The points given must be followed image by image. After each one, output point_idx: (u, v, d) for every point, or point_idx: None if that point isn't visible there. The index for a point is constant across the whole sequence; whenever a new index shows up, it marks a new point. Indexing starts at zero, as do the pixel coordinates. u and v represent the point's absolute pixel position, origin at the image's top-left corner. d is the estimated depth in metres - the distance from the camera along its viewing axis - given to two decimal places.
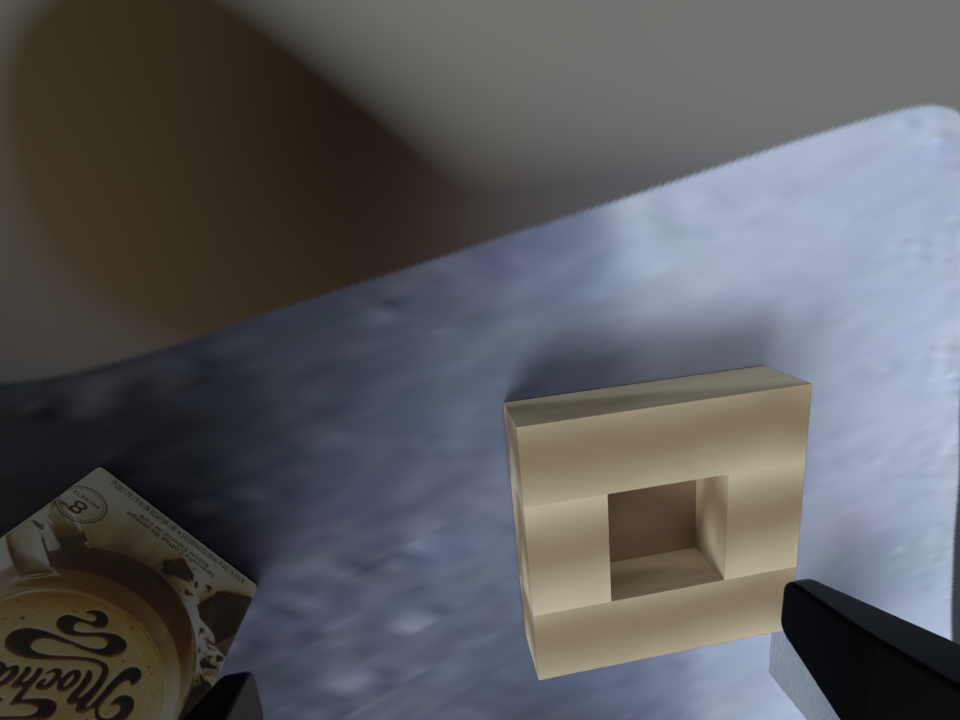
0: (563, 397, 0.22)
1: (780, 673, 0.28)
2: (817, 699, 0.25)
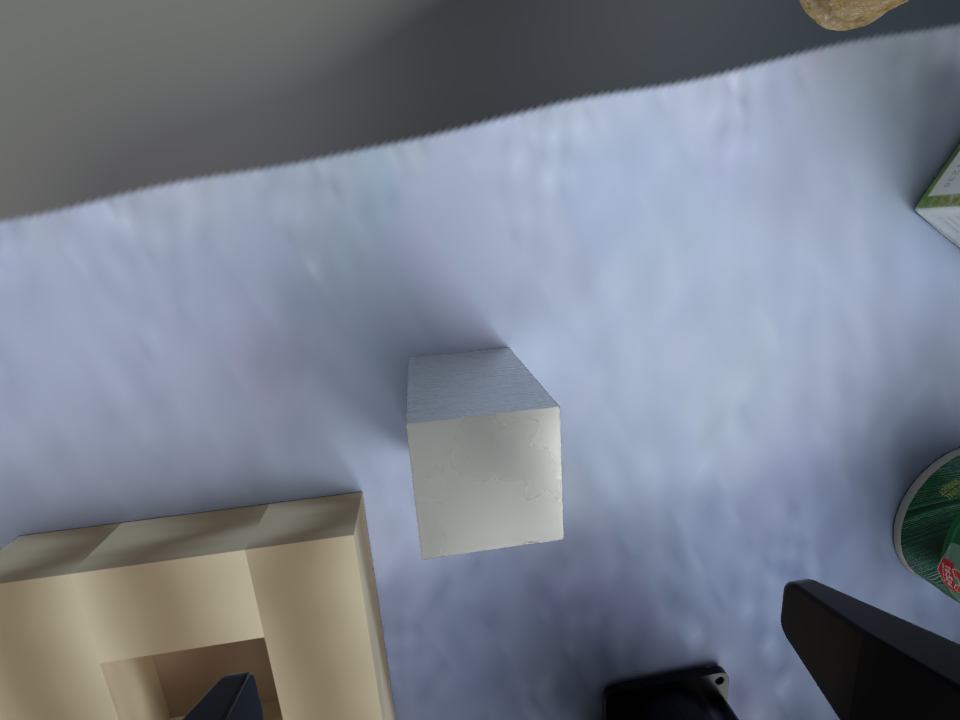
0: None
1: None
2: None
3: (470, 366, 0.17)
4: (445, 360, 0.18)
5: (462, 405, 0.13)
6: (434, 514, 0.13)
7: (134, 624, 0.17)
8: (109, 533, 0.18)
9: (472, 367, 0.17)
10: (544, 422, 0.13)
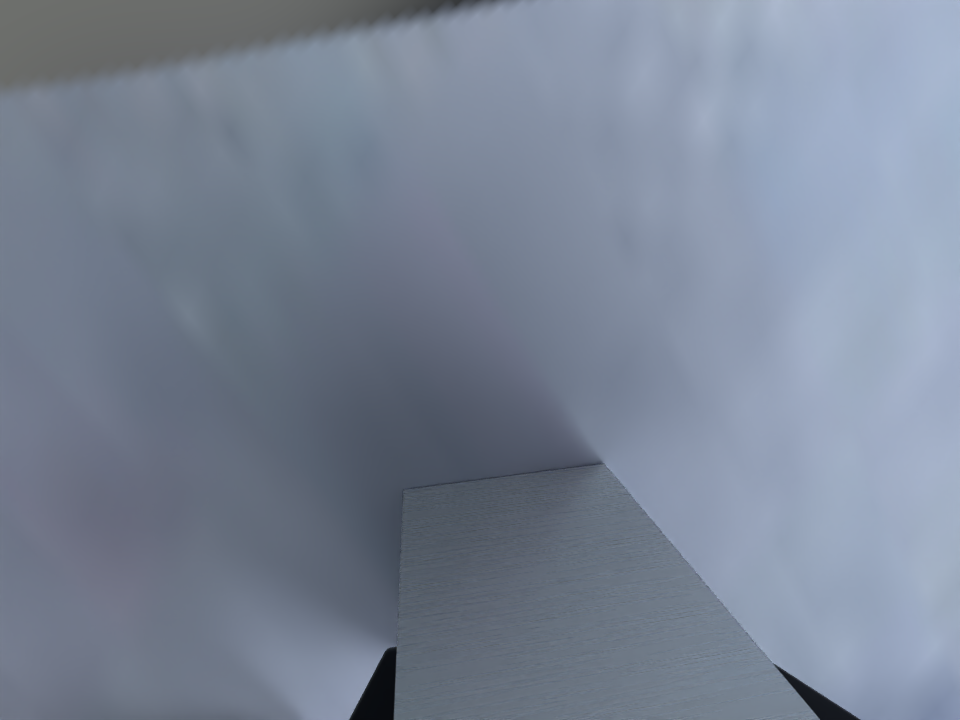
0: None
1: None
2: None
3: (544, 544, 0.07)
4: (482, 510, 0.08)
5: None
6: None
7: None
8: None
9: (551, 548, 0.07)
10: None
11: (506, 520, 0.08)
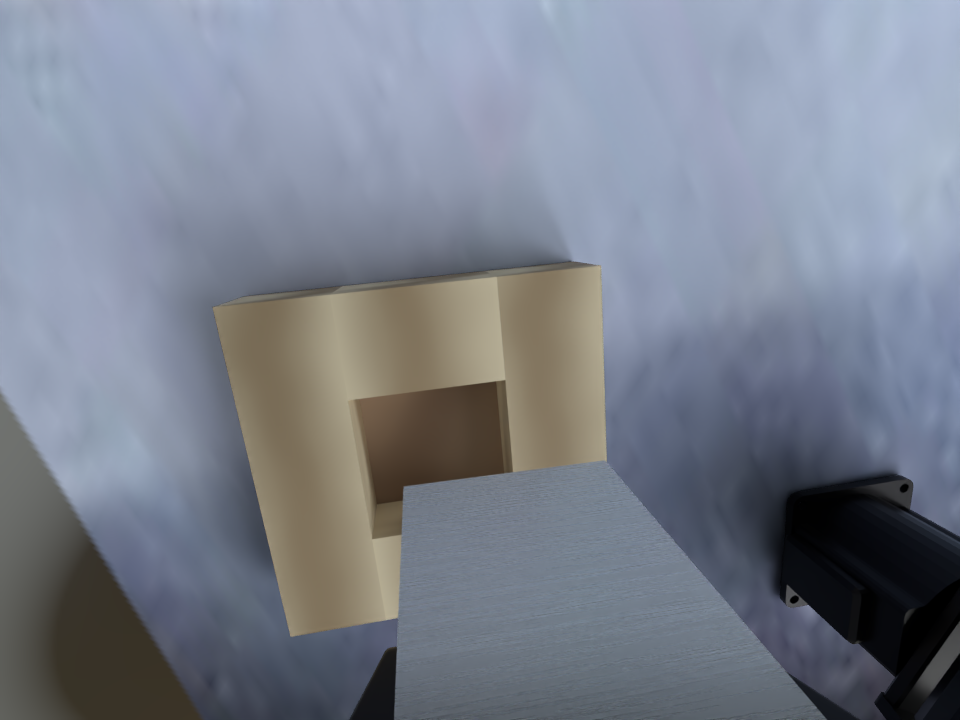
0: None
1: None
2: None
3: (544, 540, 0.07)
4: (482, 506, 0.08)
5: None
6: None
7: (384, 357, 0.17)
8: (338, 287, 0.18)
9: (552, 545, 0.07)
10: None
11: (506, 516, 0.08)
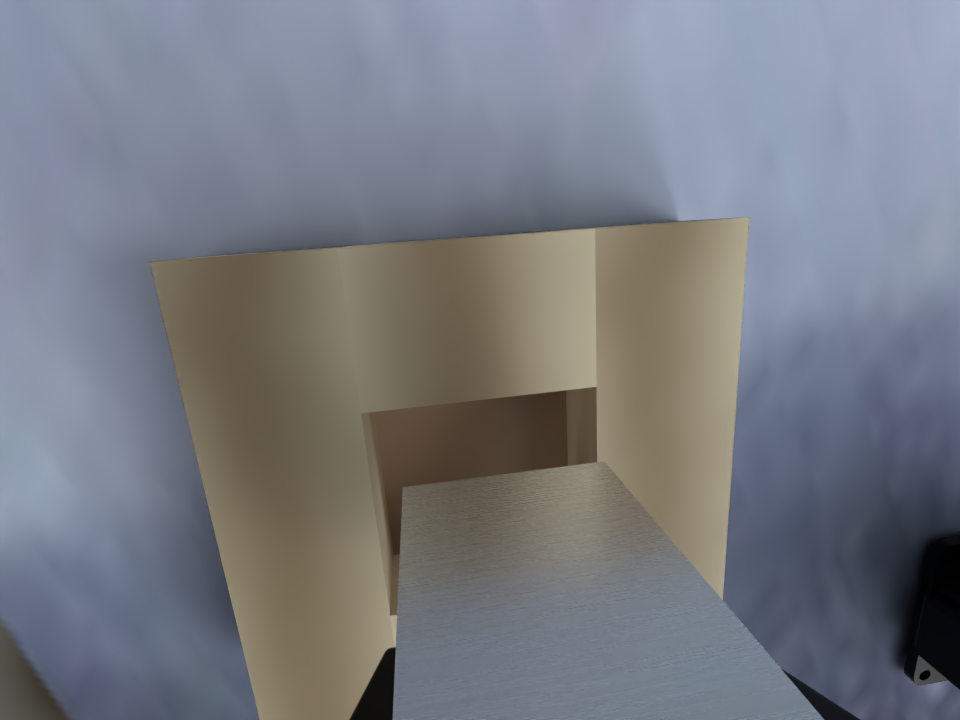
0: None
1: None
2: None
3: (543, 541, 0.07)
4: (481, 508, 0.08)
5: None
6: None
7: (419, 348, 0.11)
8: None
9: (551, 546, 0.07)
10: None
11: (506, 518, 0.08)
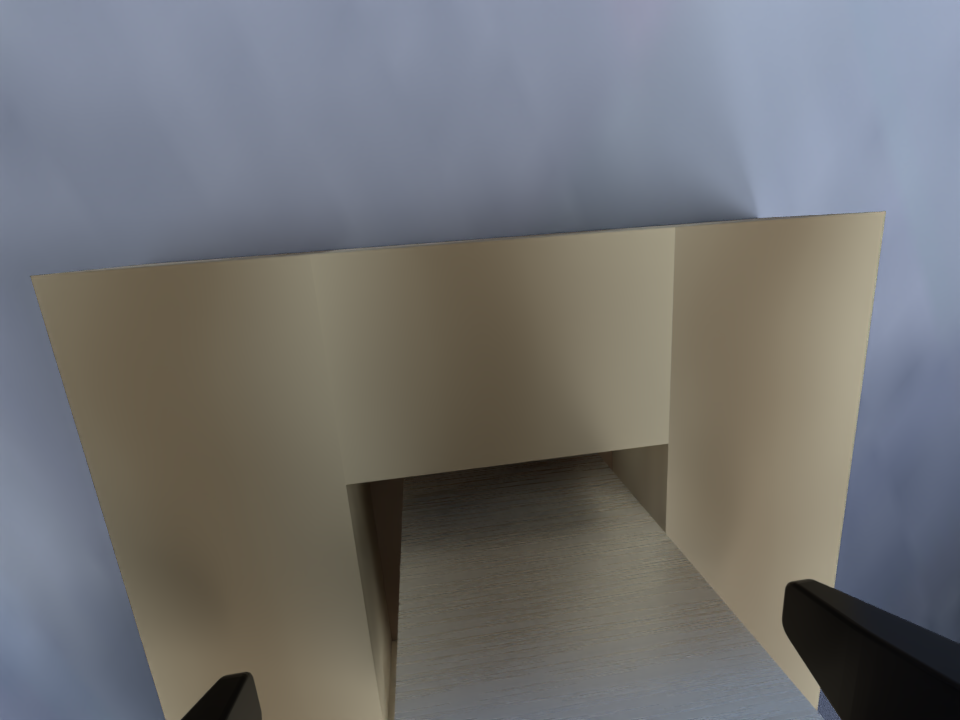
0: None
1: None
2: None
3: (523, 493, 0.09)
4: (472, 469, 0.10)
5: (545, 695, 0.05)
6: None
7: (427, 395, 0.08)
8: (331, 250, 0.09)
9: (529, 496, 0.09)
10: None
11: (492, 476, 0.09)
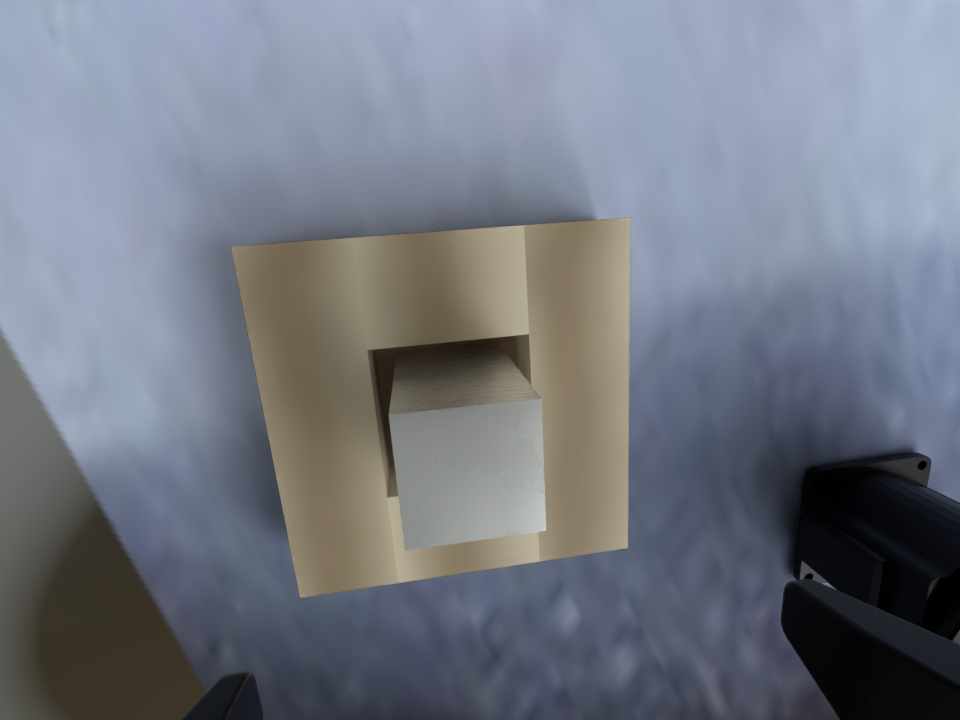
0: None
1: None
2: None
3: (456, 360, 0.17)
4: (433, 355, 0.18)
5: (445, 397, 0.13)
6: (417, 506, 0.13)
7: (406, 305, 0.16)
8: None
9: (459, 361, 0.17)
10: (526, 414, 0.13)
11: (443, 356, 0.18)
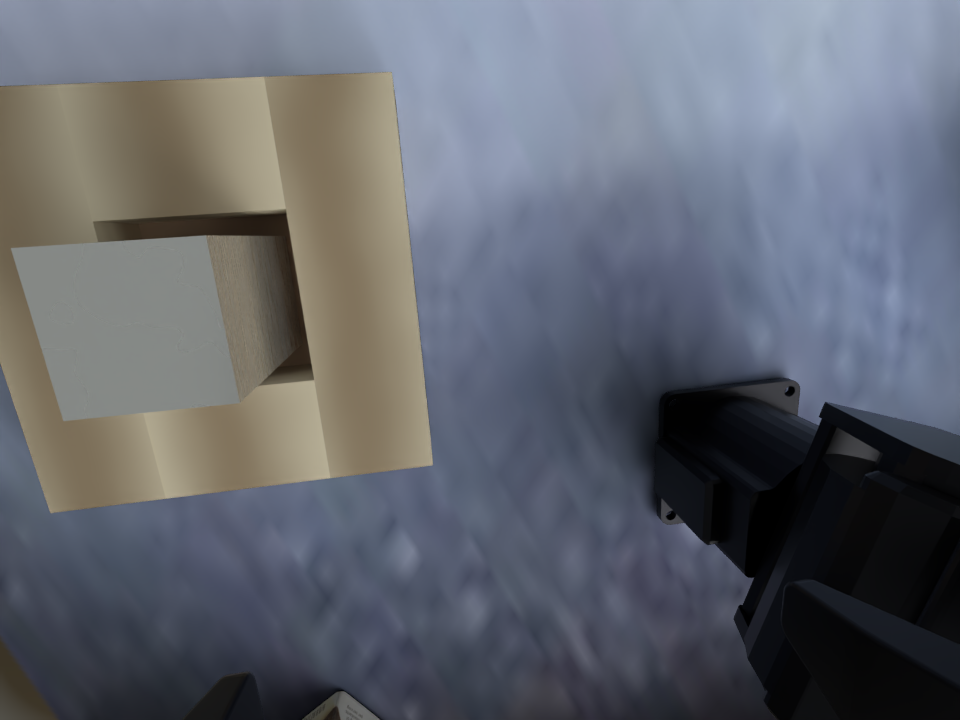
0: None
1: None
2: None
3: None
4: None
5: None
6: (68, 365, 0.11)
7: (133, 169, 0.14)
8: None
9: None
10: (189, 254, 0.11)
11: None
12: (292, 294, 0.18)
